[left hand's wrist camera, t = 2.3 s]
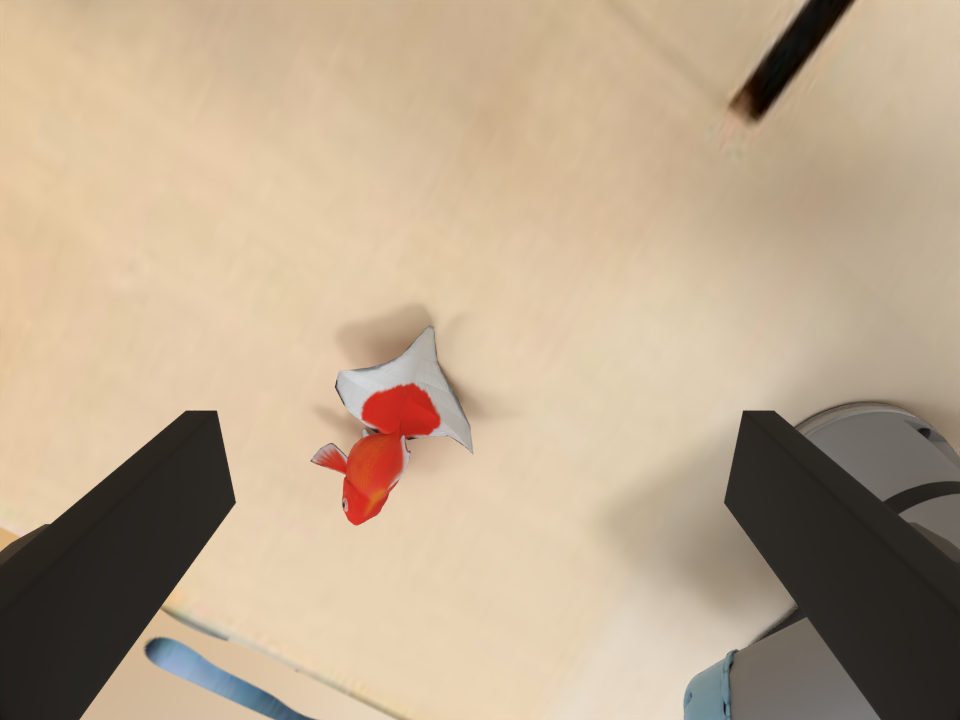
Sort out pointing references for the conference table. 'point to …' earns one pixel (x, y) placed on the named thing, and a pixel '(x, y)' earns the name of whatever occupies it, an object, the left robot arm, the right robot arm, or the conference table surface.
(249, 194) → the conference table surface
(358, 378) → the fish
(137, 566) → the left robot arm
